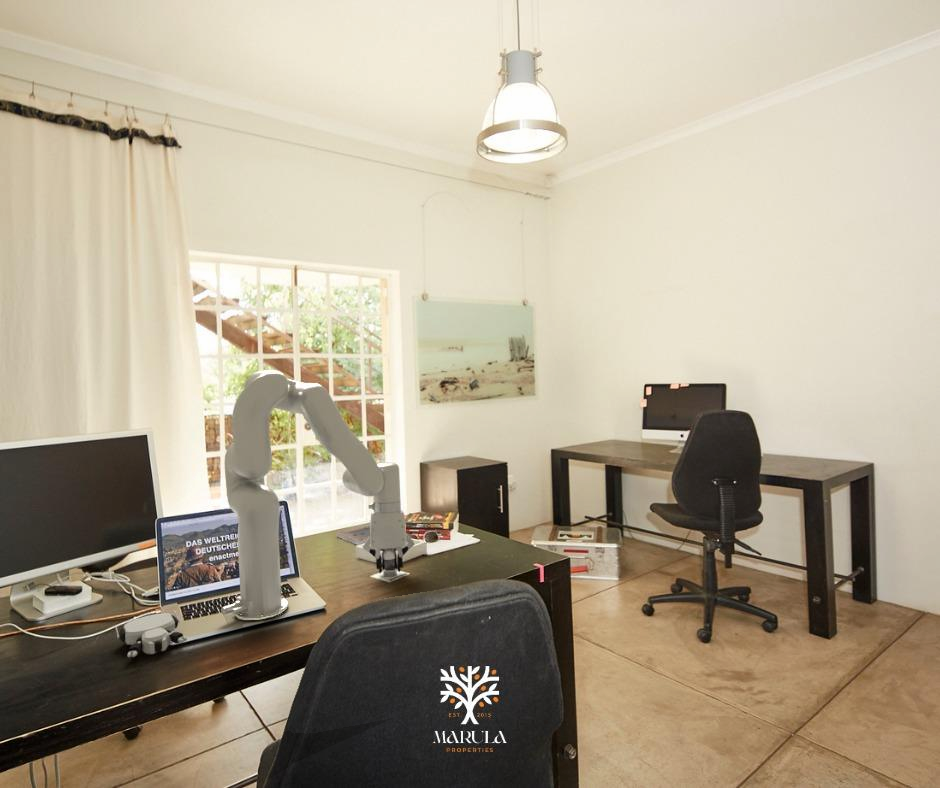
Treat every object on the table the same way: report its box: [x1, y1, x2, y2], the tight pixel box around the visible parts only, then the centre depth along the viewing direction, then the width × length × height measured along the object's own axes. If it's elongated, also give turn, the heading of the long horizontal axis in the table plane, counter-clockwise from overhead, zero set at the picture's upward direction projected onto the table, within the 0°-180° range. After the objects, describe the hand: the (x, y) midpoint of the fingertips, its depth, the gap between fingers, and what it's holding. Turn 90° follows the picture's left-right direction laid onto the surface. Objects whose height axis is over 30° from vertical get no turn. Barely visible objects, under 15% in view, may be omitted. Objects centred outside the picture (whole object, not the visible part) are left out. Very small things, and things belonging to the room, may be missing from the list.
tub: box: [355, 537, 428, 563], centre depth 182 cm, size 16×16×4 cm
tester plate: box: [369, 569, 411, 583], centre depth 164 cm, size 8×8×1 cm
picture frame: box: [336, 524, 370, 546], centre depth 209 cm, size 16×2×22 cm
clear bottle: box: [381, 548, 398, 577], centre depth 163 cm, size 4×4×9 cm
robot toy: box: [114, 610, 188, 658], centre depth 127 cm, size 12×4×15 cm
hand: (389, 570), depth 164 cm, fingers open, 4 cm apart
